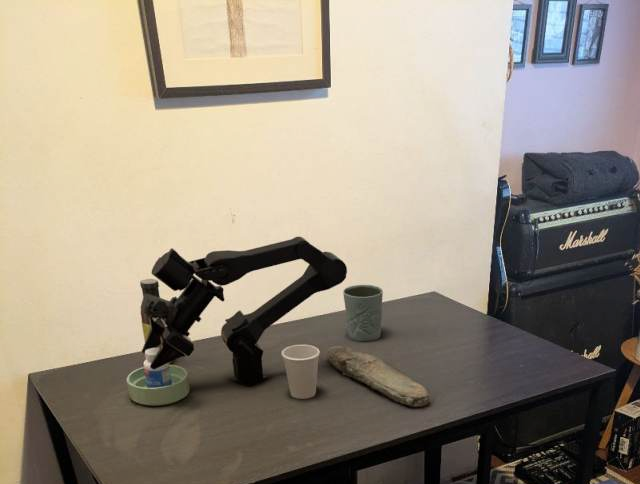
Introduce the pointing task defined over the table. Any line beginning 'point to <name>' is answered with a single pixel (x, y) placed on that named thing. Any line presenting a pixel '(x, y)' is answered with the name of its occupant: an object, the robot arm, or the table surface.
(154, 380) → the pill bottle
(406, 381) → the long grey stone
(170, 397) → the bowl
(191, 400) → the table surface
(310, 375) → the dixie cup
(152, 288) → the sauce bottle
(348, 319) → the green ceramic cup
